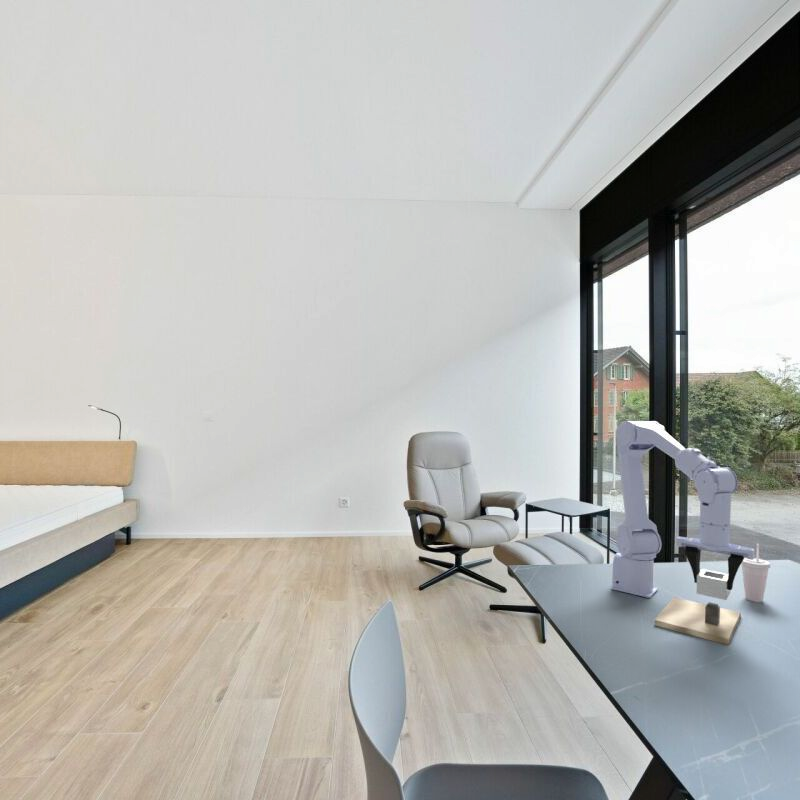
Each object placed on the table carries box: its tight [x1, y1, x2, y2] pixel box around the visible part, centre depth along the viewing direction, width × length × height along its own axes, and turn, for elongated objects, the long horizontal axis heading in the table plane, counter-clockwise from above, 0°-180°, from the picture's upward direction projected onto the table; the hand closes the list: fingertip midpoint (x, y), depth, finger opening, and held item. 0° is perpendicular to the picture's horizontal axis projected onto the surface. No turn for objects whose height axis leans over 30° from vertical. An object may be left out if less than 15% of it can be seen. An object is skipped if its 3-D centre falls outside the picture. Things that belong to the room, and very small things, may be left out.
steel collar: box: [696, 568, 731, 601], centre depth 117 cm, size 6×6×4 cm
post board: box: [654, 596, 742, 646], centre depth 120 cm, size 14×18×5 cm
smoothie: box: [741, 543, 771, 603], centre depth 135 cm, size 6×6×14 cm
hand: (713, 585), depth 117 cm, fingers closed on steel collar, 6 cm apart
